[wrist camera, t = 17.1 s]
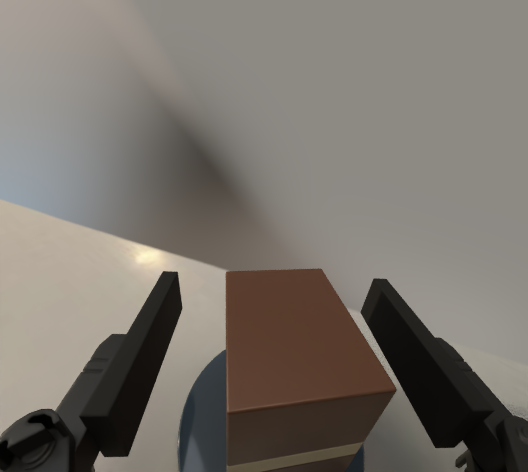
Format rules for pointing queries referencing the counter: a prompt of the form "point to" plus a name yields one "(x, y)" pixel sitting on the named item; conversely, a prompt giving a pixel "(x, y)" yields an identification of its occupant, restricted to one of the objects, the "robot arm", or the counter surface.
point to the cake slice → (296, 375)
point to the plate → (214, 424)
